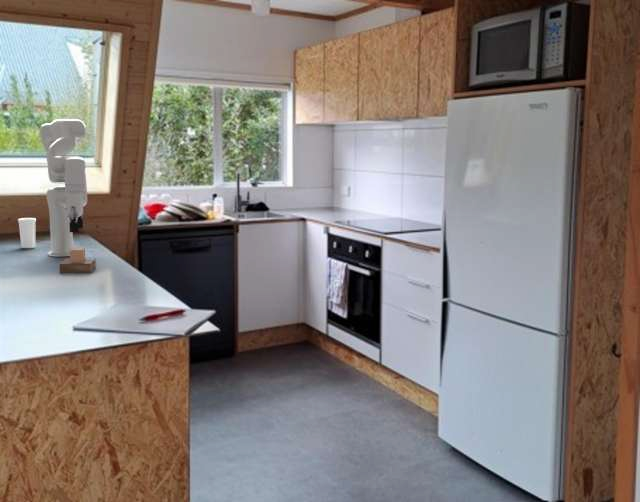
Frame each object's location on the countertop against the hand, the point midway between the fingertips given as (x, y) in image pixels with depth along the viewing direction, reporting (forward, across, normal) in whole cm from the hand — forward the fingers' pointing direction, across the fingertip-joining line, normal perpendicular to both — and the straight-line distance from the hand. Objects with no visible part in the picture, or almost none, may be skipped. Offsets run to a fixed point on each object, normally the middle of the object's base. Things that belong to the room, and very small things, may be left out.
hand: (76, 230), depth 271 cm
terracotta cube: (+13, +1, 0) cm, 13 cm away
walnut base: (+17, +1, 0) cm, 17 cm away
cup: (+18, -56, -34) cm, 68 cm away
